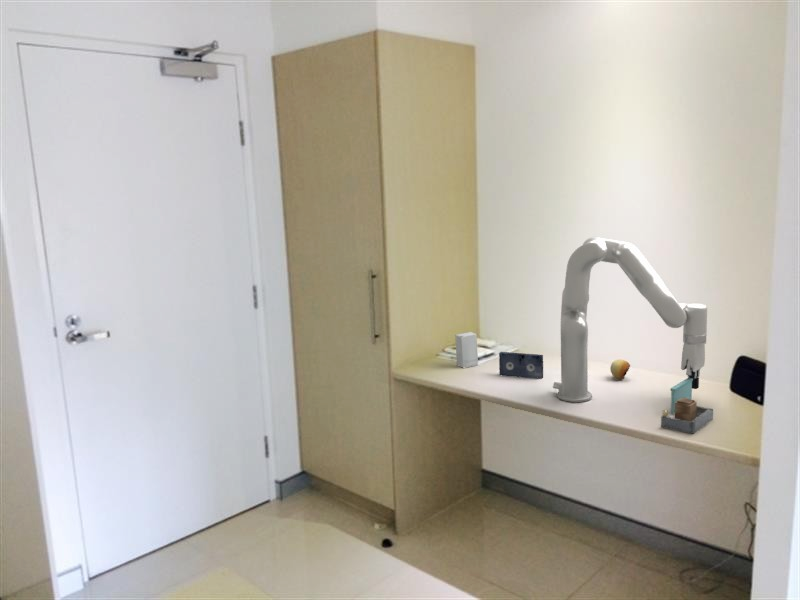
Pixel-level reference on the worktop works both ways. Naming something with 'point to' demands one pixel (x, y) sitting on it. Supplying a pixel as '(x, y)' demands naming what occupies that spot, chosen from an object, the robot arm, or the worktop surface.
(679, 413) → the block
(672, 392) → the flat teal rectangular block
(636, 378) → the worktop surface
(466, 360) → the skincare box
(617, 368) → the fruit
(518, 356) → the vhs cassette tape
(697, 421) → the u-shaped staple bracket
